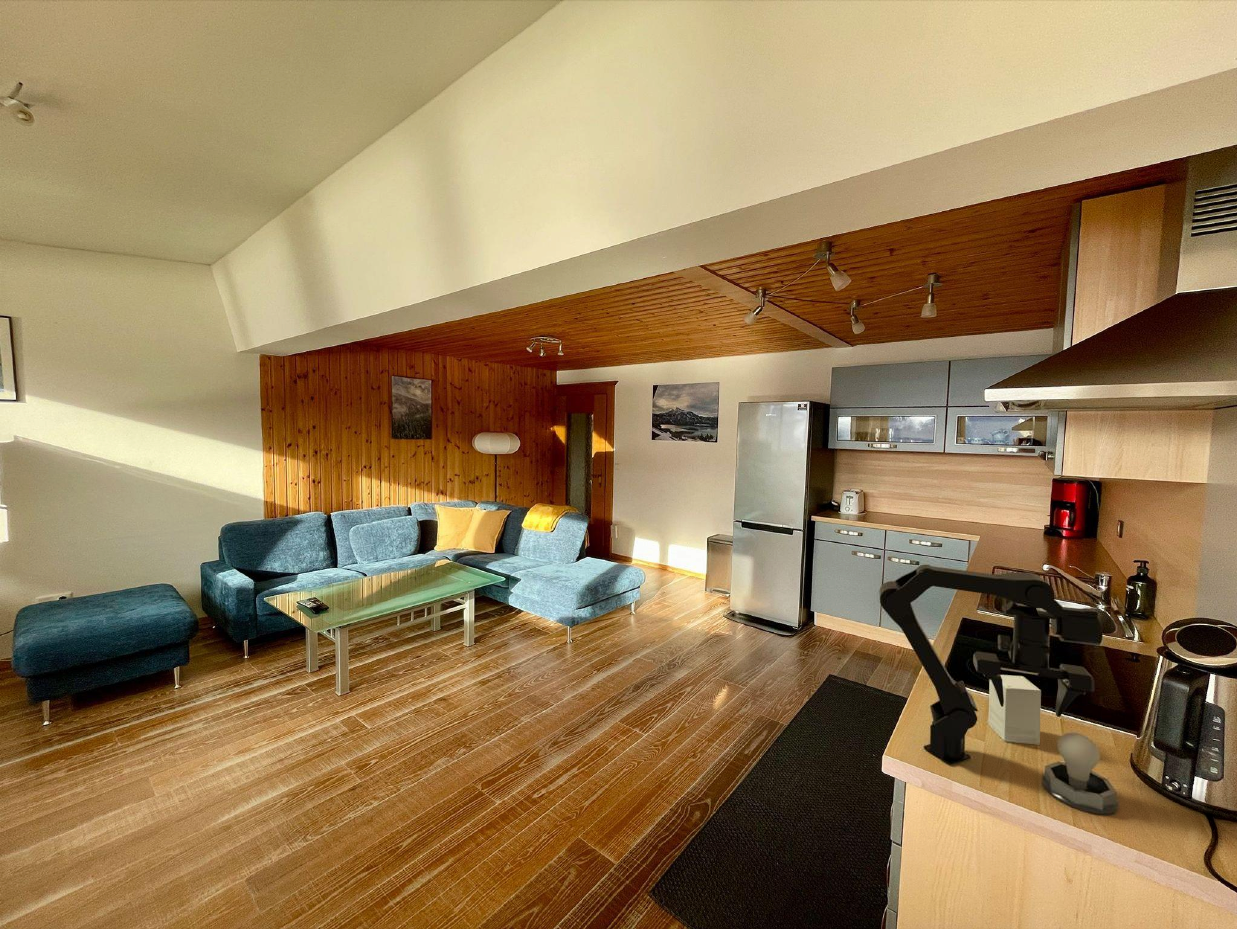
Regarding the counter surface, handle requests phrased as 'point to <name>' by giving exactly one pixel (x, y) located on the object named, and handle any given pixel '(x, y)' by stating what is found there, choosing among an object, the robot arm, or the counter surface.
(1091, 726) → the counter surface
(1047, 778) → the collar
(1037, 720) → the supplement box
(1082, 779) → the lightbulb
